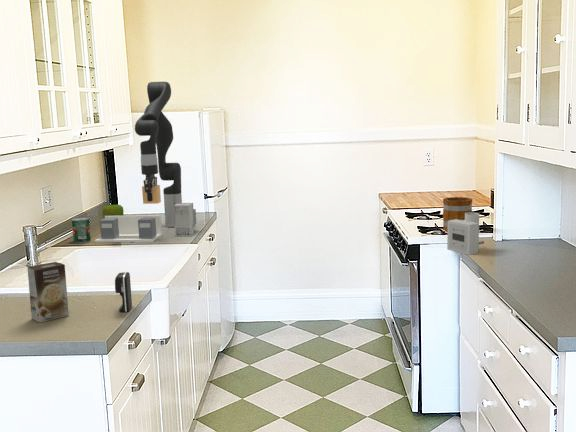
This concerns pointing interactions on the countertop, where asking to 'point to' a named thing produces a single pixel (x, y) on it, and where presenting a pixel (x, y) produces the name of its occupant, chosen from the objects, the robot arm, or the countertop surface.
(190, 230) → the circuit breaker
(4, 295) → the countertop surface
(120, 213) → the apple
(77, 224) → the canned tomato
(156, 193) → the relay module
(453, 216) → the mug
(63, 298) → the coffee box
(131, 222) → the panel
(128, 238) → the rail
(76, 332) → the countertop surface
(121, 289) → the battery charger
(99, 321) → the countertop surface
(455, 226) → the thermostat
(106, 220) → the block
